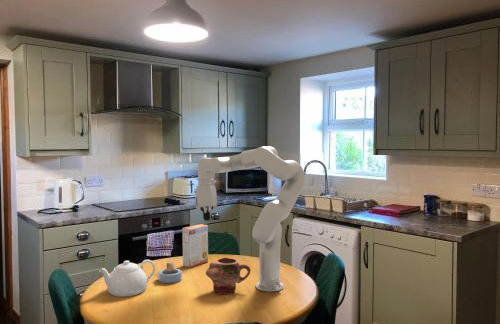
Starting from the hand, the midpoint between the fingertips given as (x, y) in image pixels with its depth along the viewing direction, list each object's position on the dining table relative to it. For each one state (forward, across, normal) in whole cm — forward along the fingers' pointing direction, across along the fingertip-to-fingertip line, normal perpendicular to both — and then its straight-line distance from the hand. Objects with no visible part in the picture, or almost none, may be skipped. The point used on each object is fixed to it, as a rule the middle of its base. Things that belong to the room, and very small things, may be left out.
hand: (206, 220), depth 207 cm
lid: (+27, +17, -5) cm, 33 cm away
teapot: (+28, +39, +1) cm, 48 cm away
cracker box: (+28, -3, -24) cm, 37 cm away
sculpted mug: (+29, -1, +22) cm, 36 cm away
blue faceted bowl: (+28, +18, -5) cm, 33 cm away
